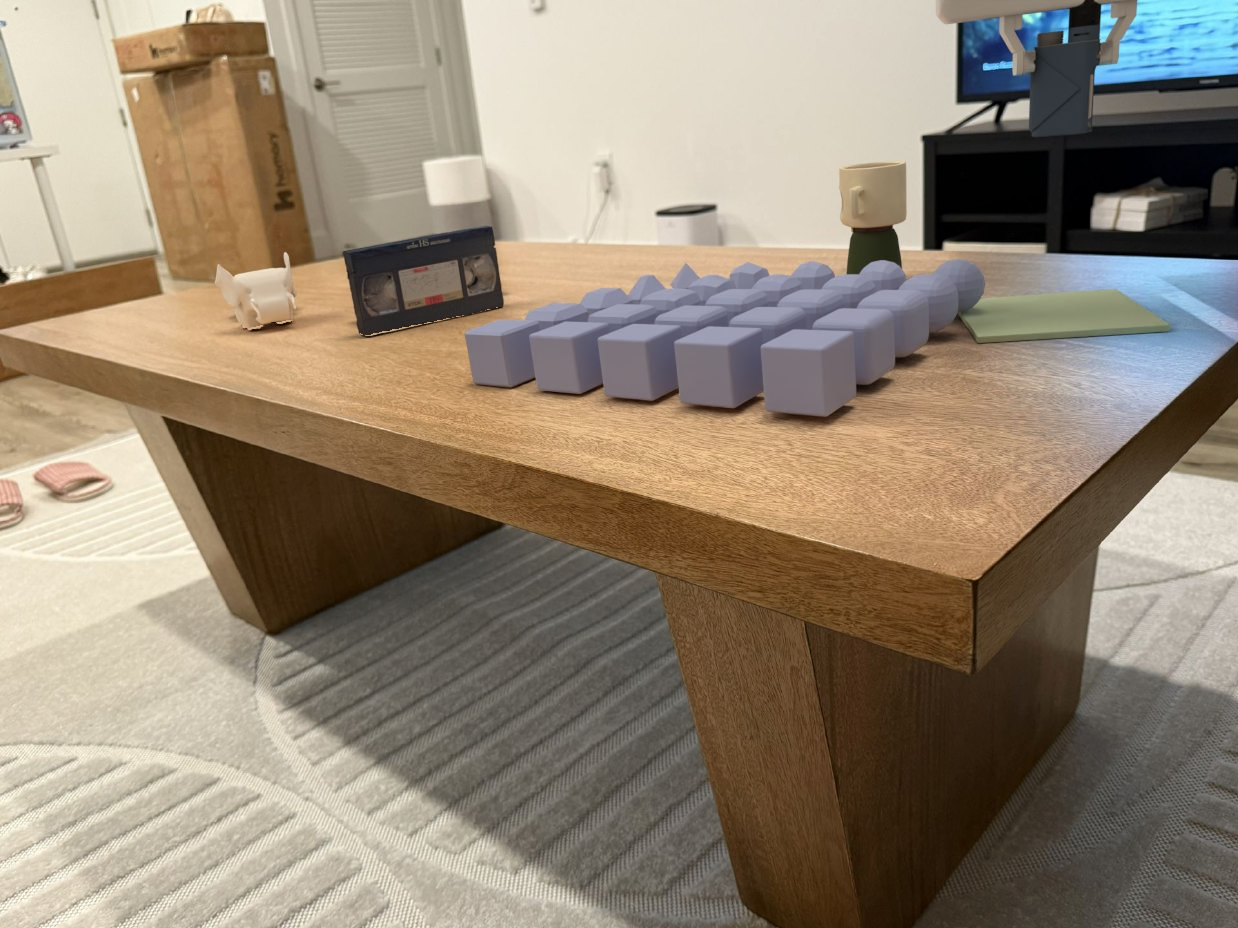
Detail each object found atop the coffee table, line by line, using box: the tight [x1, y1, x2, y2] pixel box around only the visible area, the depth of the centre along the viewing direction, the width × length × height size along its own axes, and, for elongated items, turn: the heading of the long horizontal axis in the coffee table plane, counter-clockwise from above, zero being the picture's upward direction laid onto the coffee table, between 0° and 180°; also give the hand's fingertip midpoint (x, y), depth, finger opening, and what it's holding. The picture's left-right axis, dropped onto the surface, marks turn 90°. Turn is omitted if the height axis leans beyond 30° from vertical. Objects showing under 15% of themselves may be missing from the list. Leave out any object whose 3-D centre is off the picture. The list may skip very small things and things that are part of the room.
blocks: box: [464, 258, 986, 418], centre depth 90 cm, size 35×34×5 cm
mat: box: [957, 288, 1171, 344], centre depth 89 cm, size 15×15×1 cm
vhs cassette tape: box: [342, 225, 505, 335], centre depth 118 cm, size 18×3×10 cm, turn 123°
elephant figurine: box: [214, 251, 298, 328], centre depth 126 cm, size 10×12×9 cm
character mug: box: [838, 160, 907, 274], centre depth 110 cm, size 11×7×13 cm, turn 143°
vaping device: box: [1028, 0, 1102, 138], centre depth 81 cm, size 3×5×12 cm, turn 55°
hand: (1063, 70), depth 82 cm, fingers closed on vaping device, 5 cm apart
